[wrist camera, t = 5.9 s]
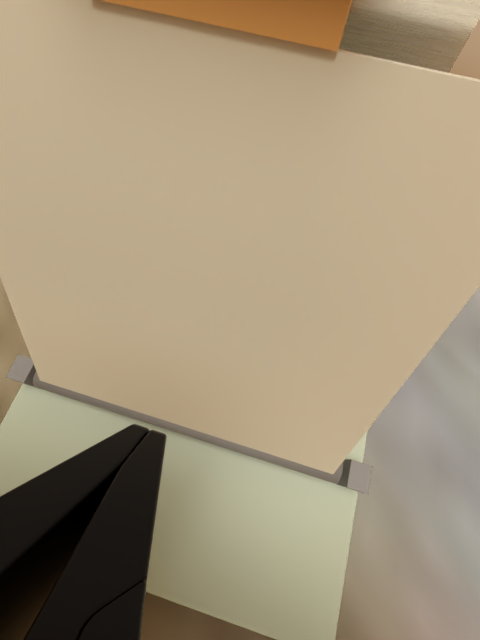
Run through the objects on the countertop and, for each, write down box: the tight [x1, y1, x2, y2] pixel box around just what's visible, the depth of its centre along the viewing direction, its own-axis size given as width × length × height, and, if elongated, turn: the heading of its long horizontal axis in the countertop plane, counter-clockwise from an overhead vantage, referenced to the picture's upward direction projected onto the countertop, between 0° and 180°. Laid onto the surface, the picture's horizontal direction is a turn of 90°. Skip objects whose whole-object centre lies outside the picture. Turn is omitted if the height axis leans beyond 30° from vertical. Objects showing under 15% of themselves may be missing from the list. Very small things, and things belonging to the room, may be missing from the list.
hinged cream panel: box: [0, 0, 480, 484], centre depth 9 cm, size 1×13×14 cm, turn 73°
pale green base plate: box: [0, 354, 373, 640], centre depth 15 cm, size 17×15×2 cm
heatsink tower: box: [339, 0, 480, 73], centre depth 10 cm, size 5×8×15 cm, turn 73°
